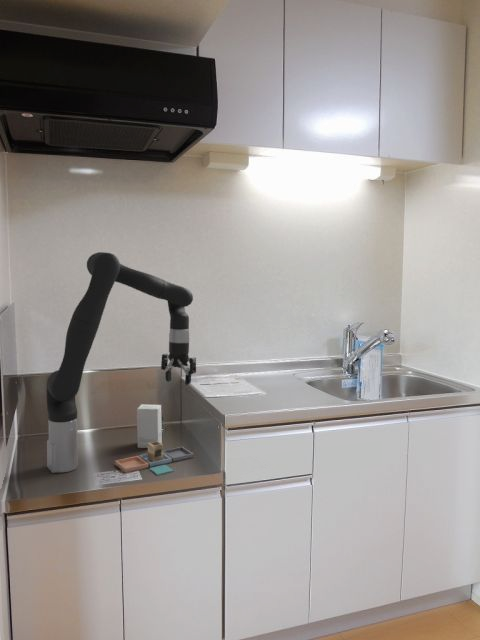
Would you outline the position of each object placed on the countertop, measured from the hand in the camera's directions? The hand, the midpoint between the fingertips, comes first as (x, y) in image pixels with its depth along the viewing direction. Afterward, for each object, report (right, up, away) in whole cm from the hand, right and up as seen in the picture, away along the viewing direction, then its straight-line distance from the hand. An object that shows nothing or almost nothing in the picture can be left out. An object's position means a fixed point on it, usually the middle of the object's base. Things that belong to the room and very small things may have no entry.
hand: (178, 382), depth 198 cm
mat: (-3, -27, -20) cm, 34 cm away
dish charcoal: (+1, -26, -7) cm, 27 cm away
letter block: (-7, -26, -12) cm, 30 cm away
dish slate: (-7, -26, -12) cm, 30 cm away
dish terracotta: (-14, -27, -18) cm, 35 cm away
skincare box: (-11, -25, +3) cm, 27 cm away
